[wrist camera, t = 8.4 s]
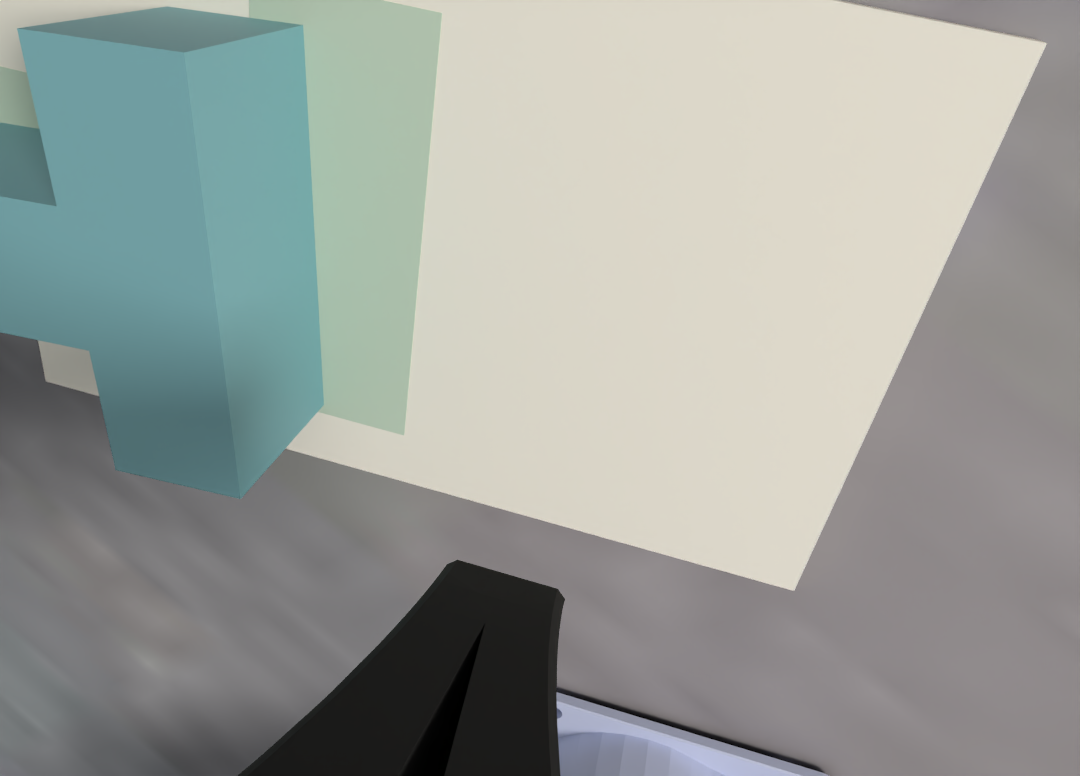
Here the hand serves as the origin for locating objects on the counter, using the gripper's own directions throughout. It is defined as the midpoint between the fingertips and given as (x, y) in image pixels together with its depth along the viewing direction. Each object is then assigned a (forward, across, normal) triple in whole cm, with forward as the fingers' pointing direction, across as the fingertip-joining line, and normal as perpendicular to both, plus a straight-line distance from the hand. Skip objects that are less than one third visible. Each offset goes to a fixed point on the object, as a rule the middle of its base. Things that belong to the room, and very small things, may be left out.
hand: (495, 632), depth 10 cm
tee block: (+9, +11, 0) cm, 15 cm away
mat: (+10, +4, 0) cm, 11 cm away
